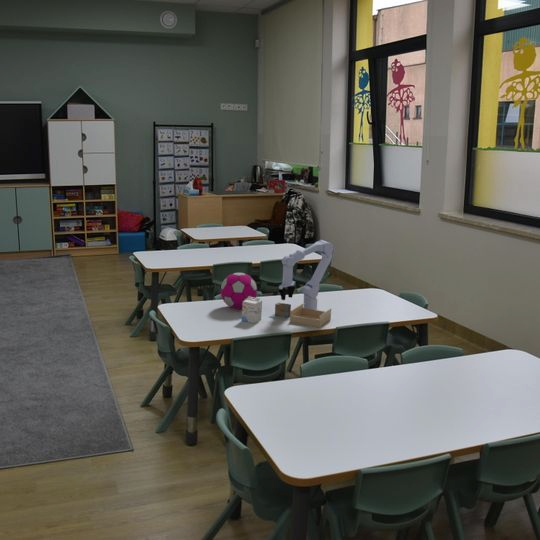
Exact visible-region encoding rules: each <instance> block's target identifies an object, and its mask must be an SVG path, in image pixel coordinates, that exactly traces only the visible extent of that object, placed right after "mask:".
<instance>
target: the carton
mask: <svg viewBox="0 0 540 540" xmlns="http://www.w3.org/2000/svg"><path fill="white" fill-rule="evenodd" d="M303 305H304V303H301V304H299V305H298V306H296V307H294V308H293V309H291V311H290V318H289V323H292V324H299V325H304V326H310V327H316V328H321V327H323V326H324V325H325V324H326V323H328V322H329V321H331V319H332V307H329V308H328V309H327V310H326V311H325V310H324V311H323V310H319V309H318V310H313V309H307V308H303Z"/></svg>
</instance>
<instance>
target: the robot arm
mask: <svg viewBox="0 0 540 540" xmlns="http://www.w3.org/2000/svg"><path fill="white" fill-rule="evenodd" d="M334 249H335V248H334V246H333V244H332V242H330V241H329V242H328V241H326V240H323V239H319V240H318V241H315V242H314V243H313V244H312V245H310V246H308V247H307V248H304V249H303V250H301V249H299V250H298V249H297V250H295V252H293V253H290V254H289V255H284V256H283V257H282V260H281V263H282V283H281V284H280V285H278V288H277V290H278V292H279V295H280V299H281V301H286V296H287V295H288V296H287V297H288V298H293V295H294V292H295V290H296V288H297V286H296V281H294V280H293V277H294V276H293V273H294V272H293V271H294V266H295V264H296V263H299V262H301V261H303V260H304V259H305V257H306V256H308V255H310V254H313V253H314V252H320V255H321V259H320V261H319V262H318V265H317V267H316V269H315V270H314V273H313V275H312V276H311V278H310V280H308V281H307V282H306V284H305V285H304V286H303V287H302V289H301V292H302V294H303V308H307V309H313V310H319V309H318V298H317V297H318V295H319V290H320V285H319V284H320V283H321V281H322V279H323V277H324V274H325V272H326V271H327V268H328V267H329V265H330V263H331V261H332V259H333V251H334Z"/></svg>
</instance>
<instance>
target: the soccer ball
mask: <svg viewBox="0 0 540 540" xmlns="http://www.w3.org/2000/svg"><path fill="white" fill-rule="evenodd" d="M257 293H258V286H257V283H256V281H255V280H254V279H253V278H252V277H251V276H250V275H249V274H246V273H244V272H234V273H231V274H229V275H228V276H226V277H225V278H224V280H223V281H222V283H221V286H220V296H221V298H222V299H221V300H222V301H223V302H224V303H225V304H226V305H227V306H228V307H230V308H232V309H234V310H235V309H237V310H242V308H243V301H245V300H247V298H248V296H250V297H255V298H257V295H258V294H257ZM252 299H254V298H252Z"/></svg>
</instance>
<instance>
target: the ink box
mask: <svg viewBox="0 0 540 540" xmlns="http://www.w3.org/2000/svg"><path fill="white" fill-rule="evenodd" d="M252 298H254V299H252ZM262 309H263V300H260V298H259V297H256V298H255V297H250V296H248V298H247V300H245V301H243V308H242V309H241V310H242V311H241V312H242V313H241V321H242V322H247V323H250V324H251V323H252V324H256V323H259V321H261V320H262V312H263V311H262Z"/></svg>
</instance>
